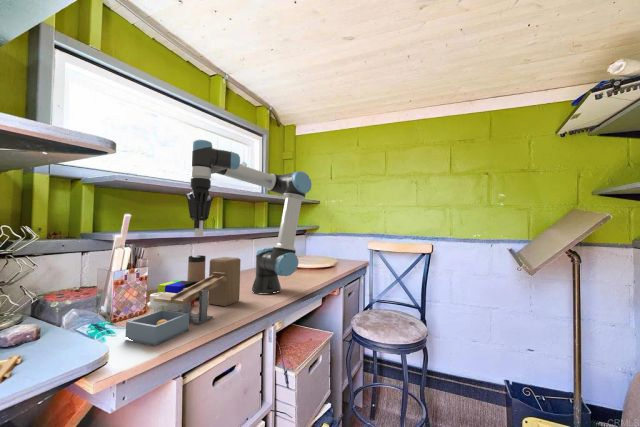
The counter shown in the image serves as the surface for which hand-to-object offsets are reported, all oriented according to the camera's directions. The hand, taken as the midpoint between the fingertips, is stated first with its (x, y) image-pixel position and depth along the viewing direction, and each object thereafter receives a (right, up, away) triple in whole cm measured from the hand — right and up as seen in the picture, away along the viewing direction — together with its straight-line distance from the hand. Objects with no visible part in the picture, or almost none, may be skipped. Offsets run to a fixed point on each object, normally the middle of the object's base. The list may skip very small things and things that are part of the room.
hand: (198, 236), depth 107 cm
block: (+5, -31, +13) cm, 35 cm away
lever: (0, -20, -4) cm, 21 cm away
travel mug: (-11, -31, +20) cm, 38 cm away
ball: (-2, -27, -22) cm, 34 cm away
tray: (-2, -29, -23) cm, 37 cm away
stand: (+2, -30, -9) cm, 31 cm away
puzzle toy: (-13, -31, +7) cm, 34 cm away
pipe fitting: (-14, -30, -4) cm, 34 cm away
